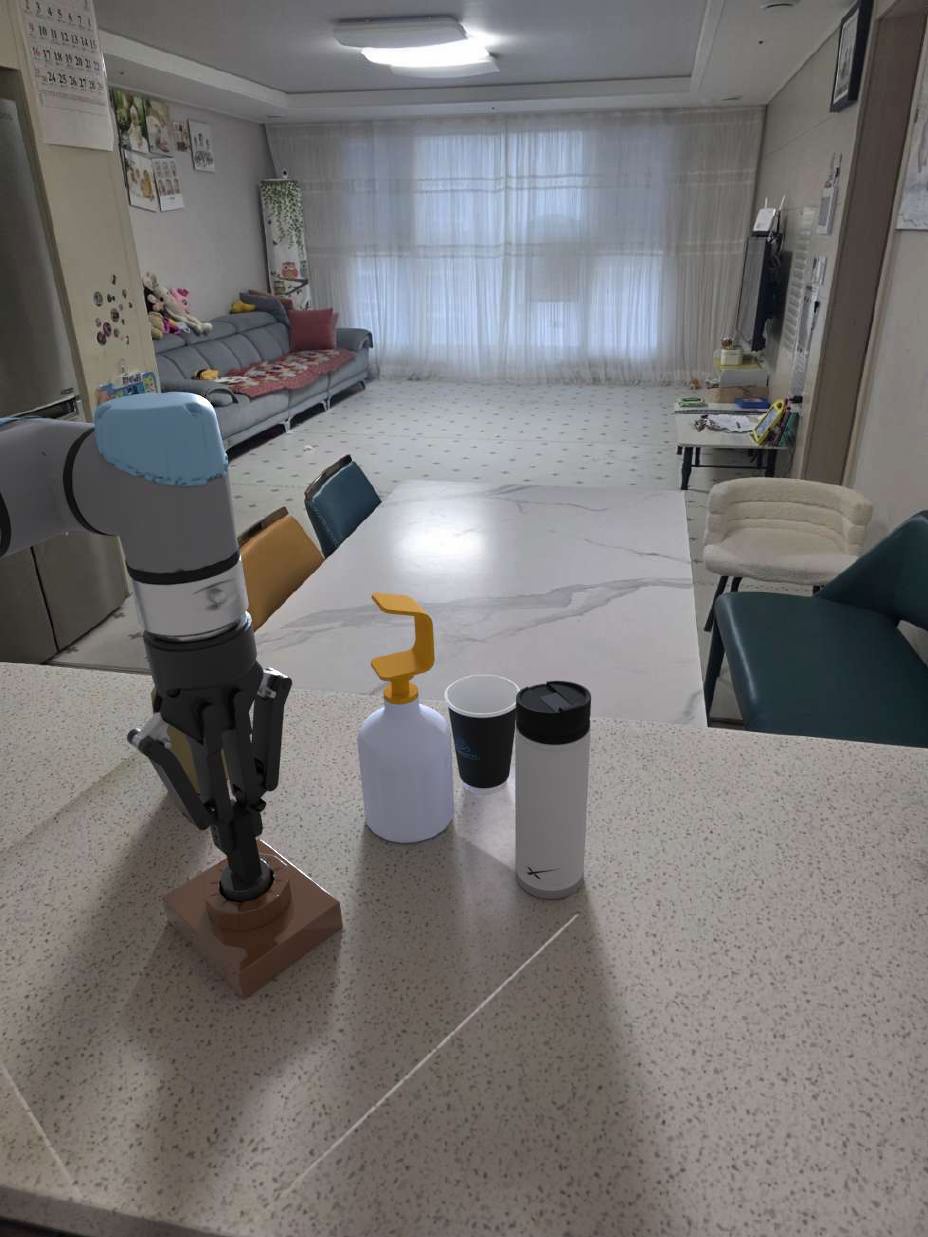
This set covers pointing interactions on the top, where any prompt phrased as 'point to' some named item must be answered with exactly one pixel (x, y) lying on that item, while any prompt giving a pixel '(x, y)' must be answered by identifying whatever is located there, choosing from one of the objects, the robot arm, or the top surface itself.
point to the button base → (253, 922)
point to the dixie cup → (483, 730)
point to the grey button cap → (245, 885)
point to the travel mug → (551, 787)
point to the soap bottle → (406, 742)
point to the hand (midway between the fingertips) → (245, 871)
